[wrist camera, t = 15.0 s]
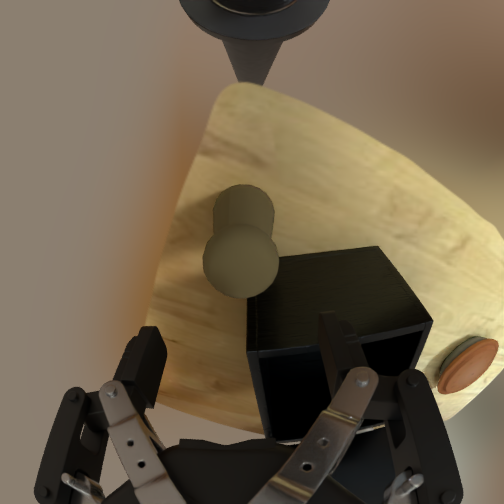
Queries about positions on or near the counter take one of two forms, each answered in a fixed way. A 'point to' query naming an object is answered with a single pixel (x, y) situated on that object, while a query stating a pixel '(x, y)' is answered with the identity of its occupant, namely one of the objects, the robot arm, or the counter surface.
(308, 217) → the counter surface
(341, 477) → the lid
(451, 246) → the counter surface
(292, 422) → the black open box
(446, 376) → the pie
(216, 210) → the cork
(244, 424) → the counter surface
